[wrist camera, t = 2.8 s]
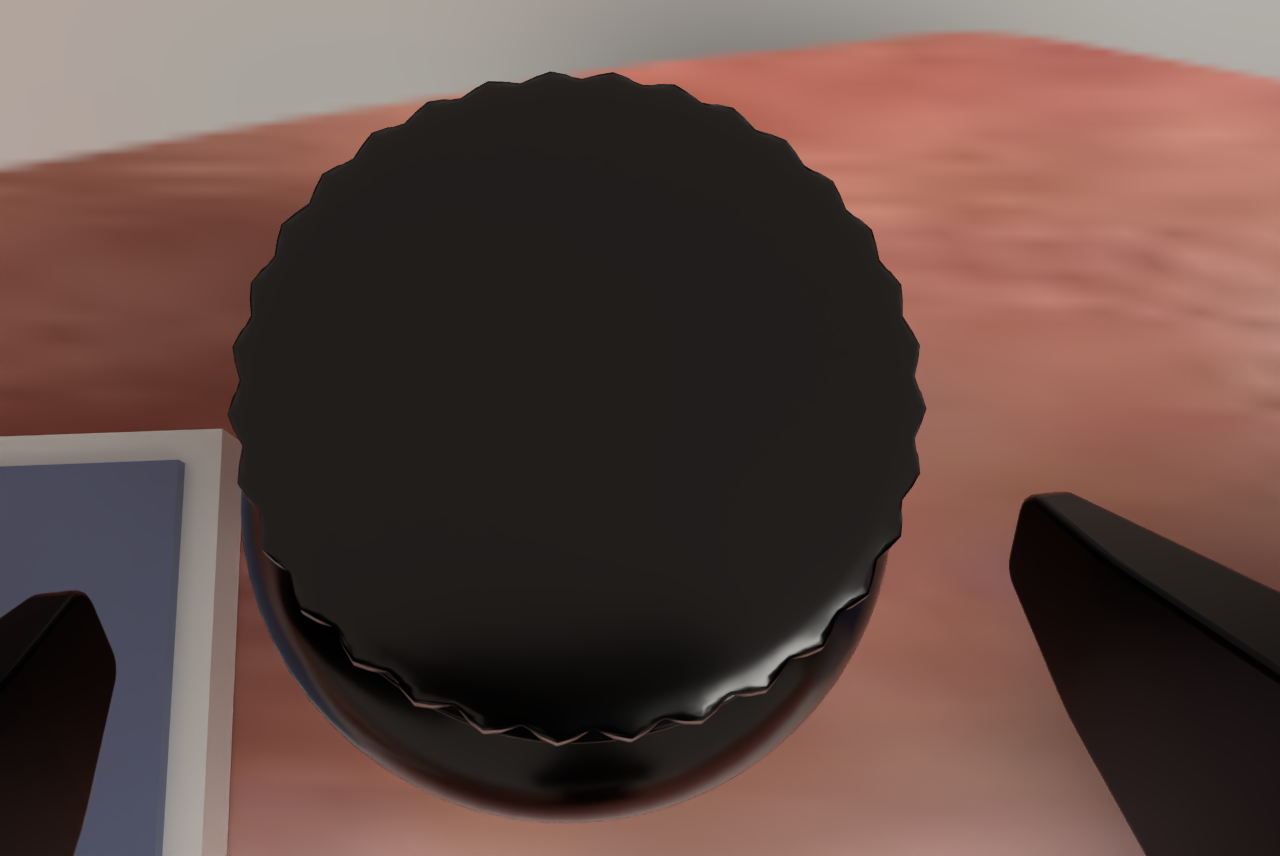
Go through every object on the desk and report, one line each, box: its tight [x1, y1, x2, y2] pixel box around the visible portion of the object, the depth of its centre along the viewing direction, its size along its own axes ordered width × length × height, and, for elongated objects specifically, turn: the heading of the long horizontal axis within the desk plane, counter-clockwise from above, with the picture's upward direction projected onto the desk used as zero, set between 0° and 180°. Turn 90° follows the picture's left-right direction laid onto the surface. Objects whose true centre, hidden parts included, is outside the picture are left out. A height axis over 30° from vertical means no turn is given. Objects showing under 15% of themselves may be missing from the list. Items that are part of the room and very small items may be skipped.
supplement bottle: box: [228, 72, 926, 823], centre depth 12 cm, size 7×7×12 cm
